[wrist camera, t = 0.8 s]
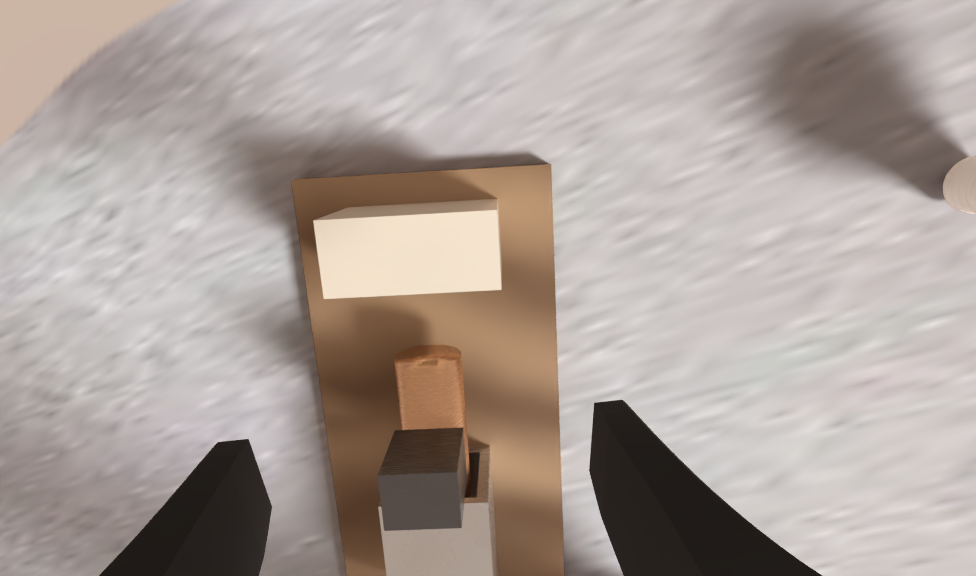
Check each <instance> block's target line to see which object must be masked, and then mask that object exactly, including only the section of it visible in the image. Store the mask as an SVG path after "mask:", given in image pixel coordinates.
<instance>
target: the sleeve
mask: <svg viewBox="0 0 976 576" xmlns="http://www.w3.org/2000/svg"><path fill="white" fill-rule="evenodd" d="M468 450H469V463H470V477H471V490H472V498H465V501H464V511H463V521H462V528H451V529H424V530H397V531H384V525H383V517H382V508H381V500H380V503H379V506H378V509H379V517H380V526H381V534H382V542H383V550H384V559H385V567H386V575H387V576H499V574H498V559H497V543H496V528H495V513H494V497H493V482H492V467H491V451H490V446H472V447H468Z"/></svg>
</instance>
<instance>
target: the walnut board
mask: <svg viewBox="0 0 976 576" xmlns="http://www.w3.org/2000/svg"><path fill="white" fill-rule="evenodd" d="M291 183H292V191H293V198H294V205H295V212H296V219H297V226H298V233H299V240H300V247H301V254H302V261H303V269H304V276H305V283H306V290H307V297H308V304H309V311H310V318H311V325H312V332H313V339H314V347H315V354H316V361H317V368H318V375H319V382H320V389H321V396H322V403H323V410H324V417H325V425H326V432H327V439H328V446H329V453H330V460H331V467H332V474H333V481H334V488H335V495H336V502H337V510H338V517H339V524H340V531H341V538H342V545H343V552H344V559H345V566H346V573H347V576H387V575H386V567H385V559H384V550H383V542H382V534H381V526H380V517H379V509H378V506H379V503H380V492H379V483H378V473H379V470H380V468H381V465H382V463H383V460H384V457H385V455H386V452H387V449H388V447H389V444H390V442H391V439H392V436H393V434H394V431H395V430H402V429H401V419H400V410H399V401H398V391H397V382H396V372H395V363H394V358H395V356H396V355H397V354H399V353H400V352H402V351H404V350H407V349H410V348H413V347H417V346H423V345H448V346H452V347H455V348H457V349H459V350H460V351H461V357H462V371H463V384H464V397H465V410H466V424H467V437H468V447H472V446H490V451H491V467H492V482H493V497H494V513H495V528H496V543H497V559H498V574H499V576H564V550H563V519H562V488H561V457H560V426H559V395H558V364H557V333H556V302H555V271H554V240H553V209H552V178H551V164H539V165H522V166H506V167H489V168H473V169H456V170H440V171H423V172H406V173H390V174H373V175H357V176H340V177H324V178H307V179H295V180H291ZM483 199H498V210H499V228H500V246H501V276H502V290H489V291H470V292H451V293H432V294H413V295H394V296H375V297H356V298H337V299H324V297H323V290H322V282H321V275H320V268H319V260H318V253H317V245H316V238H315V230H314V223H313V220H316V219H319V218H321V217H324V216H327V215H329V214H332V213H334V212H337V211H340V210H342V209H345V208H348V207H363V206H380V205H397V204H415V203H432V202H449V201H466V200H483Z"/></svg>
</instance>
